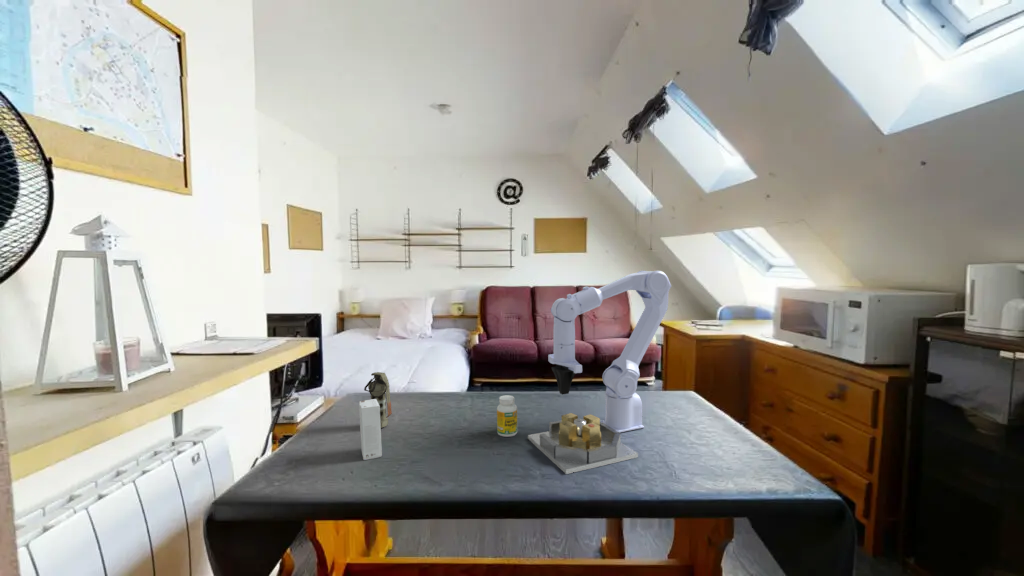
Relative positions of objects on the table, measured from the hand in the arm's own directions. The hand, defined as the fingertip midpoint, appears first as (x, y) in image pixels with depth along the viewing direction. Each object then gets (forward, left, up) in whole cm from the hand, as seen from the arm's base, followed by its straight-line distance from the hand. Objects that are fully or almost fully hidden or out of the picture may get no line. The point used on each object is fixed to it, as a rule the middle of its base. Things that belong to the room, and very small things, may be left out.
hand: (564, 393), depth 106 cm
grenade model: (+46, -21, -10) cm, 52 cm away
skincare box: (+49, -6, -10) cm, 50 cm away
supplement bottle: (+15, -4, -10) cm, 19 cm away
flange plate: (+2, +11, -10) cm, 15 cm away
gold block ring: (+2, +11, -9) cm, 14 cm away
